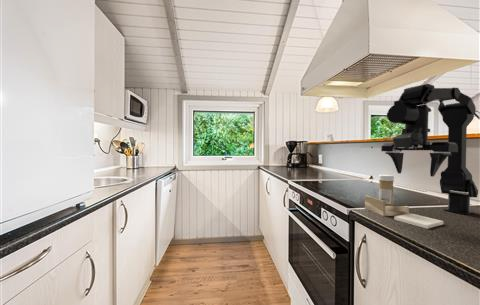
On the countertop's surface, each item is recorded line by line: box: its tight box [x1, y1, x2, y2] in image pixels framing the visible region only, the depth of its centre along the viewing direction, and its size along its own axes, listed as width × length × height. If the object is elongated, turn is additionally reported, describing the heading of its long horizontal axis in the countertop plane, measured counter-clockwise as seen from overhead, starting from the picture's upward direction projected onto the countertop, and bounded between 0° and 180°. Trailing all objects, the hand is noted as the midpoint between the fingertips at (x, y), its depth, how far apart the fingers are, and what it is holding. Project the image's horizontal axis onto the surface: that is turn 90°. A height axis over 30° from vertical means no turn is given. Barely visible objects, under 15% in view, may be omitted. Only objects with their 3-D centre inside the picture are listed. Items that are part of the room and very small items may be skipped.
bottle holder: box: [364, 194, 410, 217], centre depth 81 cm, size 10×10×5 cm
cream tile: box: [393, 212, 444, 230], centre depth 70 cm, size 9×9×1 cm
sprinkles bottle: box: [378, 174, 395, 206], centre depth 81 cm, size 5×5×14 cm
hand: (414, 174), depth 71 cm, fingers open, 9 cm apart
